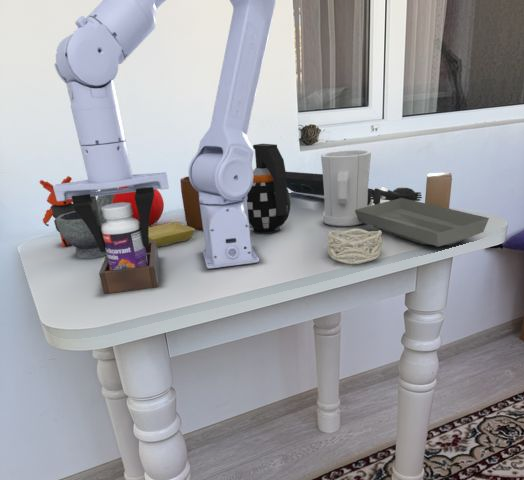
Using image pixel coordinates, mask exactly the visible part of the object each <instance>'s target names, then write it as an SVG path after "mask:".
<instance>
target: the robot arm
mask: <svg viewBox="0 0 524 480" xmlns="http://www.w3.org/2000/svg"><path fill="white" fill-rule="evenodd" d="M165 2H166V0H102V1H101V2H100V3H99V4H98V5H96V7H95V8H94V9H93V10H92V11H91V12H90V13H89V14H88V15H87V16H84V15H81V16H79V17H78V18H77V19H76V20H75V25H76V27H77V28H76V29H74V31H73V33H72V34H69V35H68V36H66V37H65V38H63V39H61V41H60V42H59V43H58V46H57V48H56V53H55V62H54V64H53V65H54V68H55V72H56V73H57V75H58V77H59V78H60V79H61V80H62V82H64V84H66V88H67V94H68V96H69V102H70V109H71V113H72V118H73V121H74V127H75V130H76V134H77V139H78V143H79V146H80V147H79V148H80V151H81V155H82V160H83V164H84V169H85V172H86V176H87V179H84V180H76V181H70V183H62V182H61V183H62V184H61V183H56V184H54V185H53V188H54V192H55V196H56V199H57V201H65V200H67V199H72V200H73V202H72V206H73V208H74V210H75V211H76V212H77V214H78V215H79V216H80V217H81V218H82V220H83V221H84V222H85V224H86V225H87V227H88V228H89V230H90V231H91V233H92V235H93V236H94V238H95V240H96V242H97V244H98V246H99V249H100V252H106V249H105V245H104V241H103V236H102V233H101V223H100V218H99V212H98V207H97V201H96V200H97V197H98V196H102V195H111V194H120V193H129V192H136V194H135V196H134V197H135V202H136V206H137V210H138V215H139V219H140V224H141V232H142V240H143V245H144V247H146V246H149V227H150V226H149V217H150V212H151V207H152V203H153V198H154V190H155V189H157V190H161V191H162V190H169V189H170V188H169V182H168V174H167V172H166V171H164V172H163V171H161V172H152V173H150V172H149V173H138V174H137V173H136V174H133V171H132V166H131V161H130V160H131V159H130V156H129V155H130V154H129V150H128V144H127V139H126V134H125V129H124V124H123V119H122V113H121V109H120V103H119V100H118V96H117V92H116V91H117V90H116V87H115V86H116V85H115V82H114V79H116V77H117V75H118V73H119V65H122V64H123V63H124V61H126V60H127V58H128V57H129V56H130V55H131V54H132V53H134V52H135V51H136V49H137V48H138V47H139V46H140V45H141V44H142V42H144V41H145V40H146V38H147V37H148V36H149V35H150V34H152V32H153V31H154V30H155V28H156V22H157V21H156V15H157V14H156V13H157V9H158V8H160V6H162V5H163V4H164V3H165ZM229 2H230V3H231V6H232V8H233V10H232V14H231V15H232V16H231V21H230V26H229V30H228V35H227V39H226V40H227V41H226V44H225V45H226V46H225V51H224V54H223V60H222V66H221V69H220V76H219V80H218V86H217V92H216V96H215V101H214V107H213V110H212V111H213V112H212V117H211V122H210V126H209V128H208V130H207V131H206V132H205V134H204V135H203V136H202V138H201V139H200V141H199V144H198V145H199V146H198V149H197V152H196V154H195V155H194V156H193V158H192V159H191V161H190V163H189V166H188V176H189V180H190V182H191V184H192V186H193V187H194V189H195V190H197V191H198V192H199V202H200V210H201V217H202V225H203V230H202V231H203V238H204V239H203V240H204V246H205V249H203V250H202V254H203V258H204V262H205V267H206V268H207V269H210V270H211V269H218V268H226V267H233V266H240V265H241V266H242V265H249V264H256V263H259V262H260V257H258V255H257V253H256V252H255V250H254V248H253V247H252V239H251V228H250V227H249V218H248V207H247V199H248V198H247V194H248V192H249V191H250V189H251V187H252V184H253V178H254V177H253V171H254V169H253V157H254V155H255V149H254V148H253V145H252V144H251V142H250V140H249V139H248V131H249V128H250V123H251V118H252V114H253V109H254V104H255V100H256V95H257V90H258V85H259V81H260V76H261V72H262V66H263V63H264V57H265V54H266V49H267V44H268V39H269V35H270V30H271V25H272V21H273V18H274V17H273V16H274V13H275V8H276V2H277V1H276V0H229ZM125 186H127V188H124V189H115V190H106V191H100V190H101V189H112V188H119V187H125Z"/></svg>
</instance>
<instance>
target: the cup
mask: <svg viewBox="0 0 524 480" xmlns="http://www.w3.org/2000/svg"><path fill="white" fill-rule="evenodd" d="M371 158H372V151H370V150H362V149H361V150H360V149H359V150H356V149H353V150H338V151H331V152H326V153H322V154H320V160H321V161H320V162H321V171H322V174H323V184H324V196H323V202H324V211H323V212H322V223H324V224H326V225H328V226H333V227H353V226H359V225H362V224H364V223H362V222H359V220H358V218H357V215H356V212H355V210H356V209H360V208H364V207H367V201H368V188H369V181H370V168H371V167H370V166H371Z"/></svg>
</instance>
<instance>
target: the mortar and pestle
mask: <svg viewBox="0 0 524 480" xmlns="http://www.w3.org/2000/svg"><path fill="white" fill-rule="evenodd" d="M115 189H118V188H112V189H101V190H99V191H106V190H115ZM113 198H114V194H111V195H102V196H97V197H96V201H97V207H98V212H99V218H100V223H101V226H102V225H103V223H105V222H106V219H104V218H103V215H102V210H101V207H103V206H105V205H108V204H112V202H113ZM56 222H57V226H58V229H59V231H60V232H59V234H60V233H61V235H62V236H63V238H64V239H65V240H66V241H67V242H68V243H70V244H71V246H73V247H74V248H75V255H76V257H77V258H80V259H95V258H101V257H105V256H106V252H100V249H99V246H98V244H97V242H96V240H95V238H94V236H93V235H92V233H91V231H90V230H89V228H88V227H87V225H86V224H85V222H84V221H83V220H82V218H81V217H80V216H79V215H78V214H77V212H76V211H73V212H69V213H66V214H62V215H60V216H58V217H57V218H56Z"/></svg>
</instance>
